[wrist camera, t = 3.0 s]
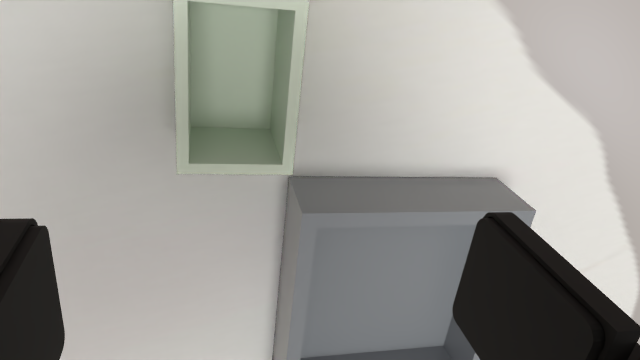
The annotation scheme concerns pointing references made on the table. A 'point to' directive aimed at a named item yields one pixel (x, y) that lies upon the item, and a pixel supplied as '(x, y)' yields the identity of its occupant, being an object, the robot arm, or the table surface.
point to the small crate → (238, 84)
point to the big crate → (379, 265)
